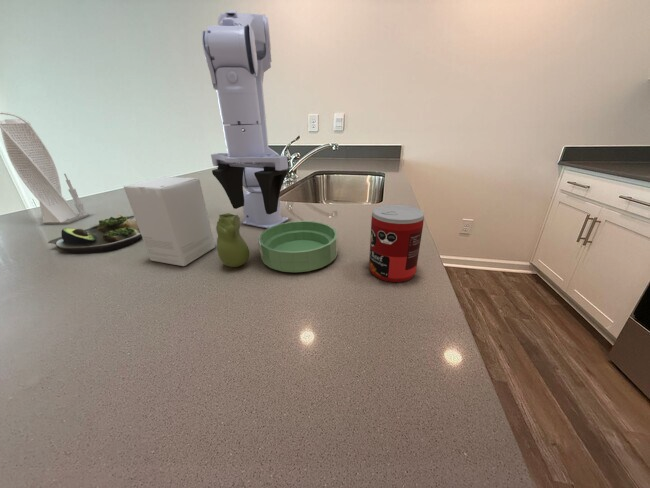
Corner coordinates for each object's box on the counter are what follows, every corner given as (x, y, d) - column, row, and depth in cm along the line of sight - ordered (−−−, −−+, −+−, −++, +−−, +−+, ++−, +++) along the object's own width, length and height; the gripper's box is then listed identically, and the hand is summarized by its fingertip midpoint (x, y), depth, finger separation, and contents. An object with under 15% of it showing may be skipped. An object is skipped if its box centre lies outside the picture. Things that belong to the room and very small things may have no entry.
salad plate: (105, 222, 72) (98, 207, 70) (170, 220, 72) (165, 204, 70) (38, 255, 54) (26, 235, 52) (124, 252, 55) (115, 232, 53)
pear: (226, 258, 51) (216, 210, 47) (253, 257, 51) (245, 208, 47) (218, 273, 46) (205, 220, 42) (247, 271, 46) (238, 219, 42)
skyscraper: (63, 225, 71) (6, 111, 59) (35, 226, 71) (-28, 112, 59) (89, 215, 78) (43, 112, 66) (63, 215, 78) (13, 113, 66)
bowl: (245, 263, 49) (241, 242, 47) (290, 235, 61) (289, 217, 59) (312, 283, 42) (311, 259, 40) (349, 247, 54) (349, 227, 52)
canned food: (364, 261, 48) (367, 205, 44) (405, 259, 49) (412, 203, 44) (375, 285, 42) (379, 221, 37) (423, 281, 42) (433, 218, 37)
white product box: (217, 247, 56) (201, 177, 49) (184, 267, 48) (160, 188, 42) (184, 242, 58) (165, 175, 52) (148, 260, 51) (121, 185, 44)
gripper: (188, 126, 39) (207, 211, 45) (261, 124, 33) (273, 223, 39) (223, 125, 45) (237, 200, 51) (292, 123, 39) (298, 209, 45)
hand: (254, 209), depth 45 cm, fingers open, 7 cm apart
